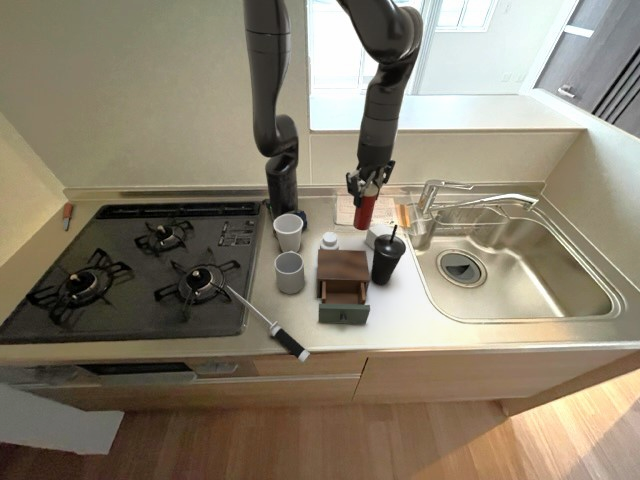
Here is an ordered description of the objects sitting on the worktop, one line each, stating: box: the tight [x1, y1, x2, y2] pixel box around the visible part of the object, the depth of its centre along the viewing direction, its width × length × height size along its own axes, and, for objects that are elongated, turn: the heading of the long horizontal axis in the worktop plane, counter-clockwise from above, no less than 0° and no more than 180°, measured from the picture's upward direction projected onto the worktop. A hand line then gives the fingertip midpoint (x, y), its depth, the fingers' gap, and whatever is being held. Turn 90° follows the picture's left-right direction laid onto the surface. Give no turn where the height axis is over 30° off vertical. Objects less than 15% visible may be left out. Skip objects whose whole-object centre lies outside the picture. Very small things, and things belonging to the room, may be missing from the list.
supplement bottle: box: [319, 231, 340, 250], centre depth 73 cm, size 5×5×10 cm
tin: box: [352, 182, 378, 231], centre depth 66 cm, size 5×5×12 cm
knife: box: [227, 285, 311, 364], centre depth 59 cm, size 26×2×5 cm, turn 52°
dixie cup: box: [272, 214, 303, 253], centre depth 76 cm, size 8×8×10 cm
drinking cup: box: [370, 224, 407, 287], centre depth 65 cm, size 8×8×20 cm
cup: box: [274, 251, 305, 295], centre depth 68 cm, size 7×10×9 cm
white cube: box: [365, 221, 397, 251], centre depth 79 cm, size 6×6×6 cm
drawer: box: [317, 281, 371, 325], centre depth 61 cm, size 10×11×7 cm
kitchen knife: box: [62, 202, 73, 230], centre depth 86 cm, size 16×1×2 cm
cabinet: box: [316, 248, 371, 299], centre depth 67 cm, size 10×13×9 cm
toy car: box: [272, 209, 308, 239], centre depth 82 cm, size 6×12×6 cm
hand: (365, 202), depth 65 cm, fingers closed on tin, 4 cm apart
